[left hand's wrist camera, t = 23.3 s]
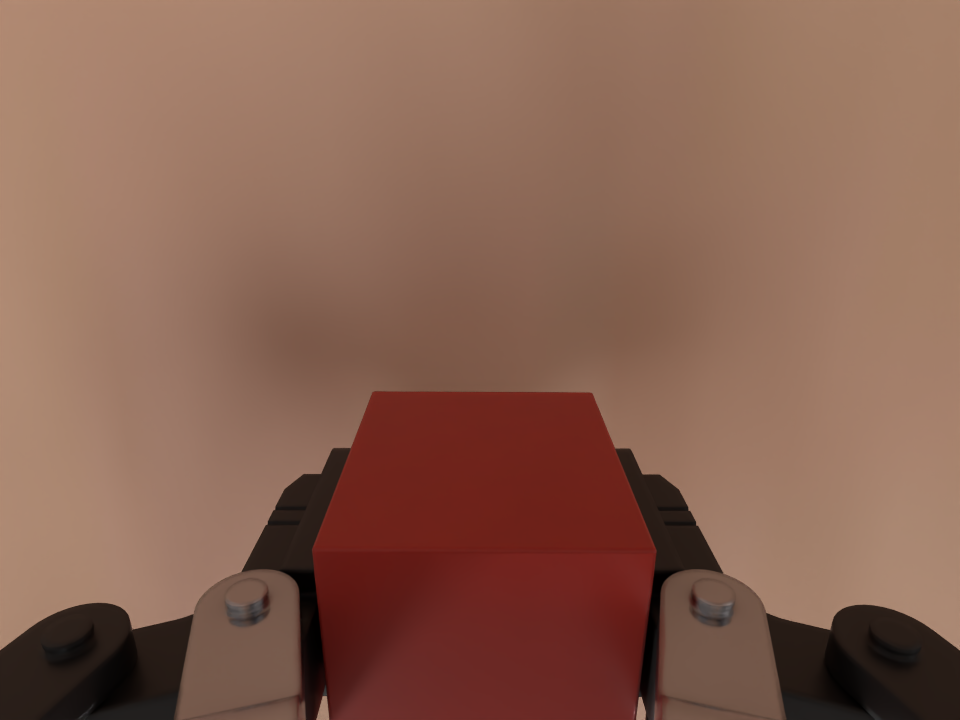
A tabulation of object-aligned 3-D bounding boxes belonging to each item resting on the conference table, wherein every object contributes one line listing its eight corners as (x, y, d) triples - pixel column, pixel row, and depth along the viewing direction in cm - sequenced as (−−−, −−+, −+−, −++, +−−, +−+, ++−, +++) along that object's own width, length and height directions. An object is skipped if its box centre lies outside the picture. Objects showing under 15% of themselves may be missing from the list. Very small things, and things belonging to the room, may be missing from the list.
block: (593, 391, 12) (658, 550, 8) (578, 582, 14) (626, 806, 9) (371, 390, 12) (310, 547, 8) (382, 581, 14) (337, 805, 9)
